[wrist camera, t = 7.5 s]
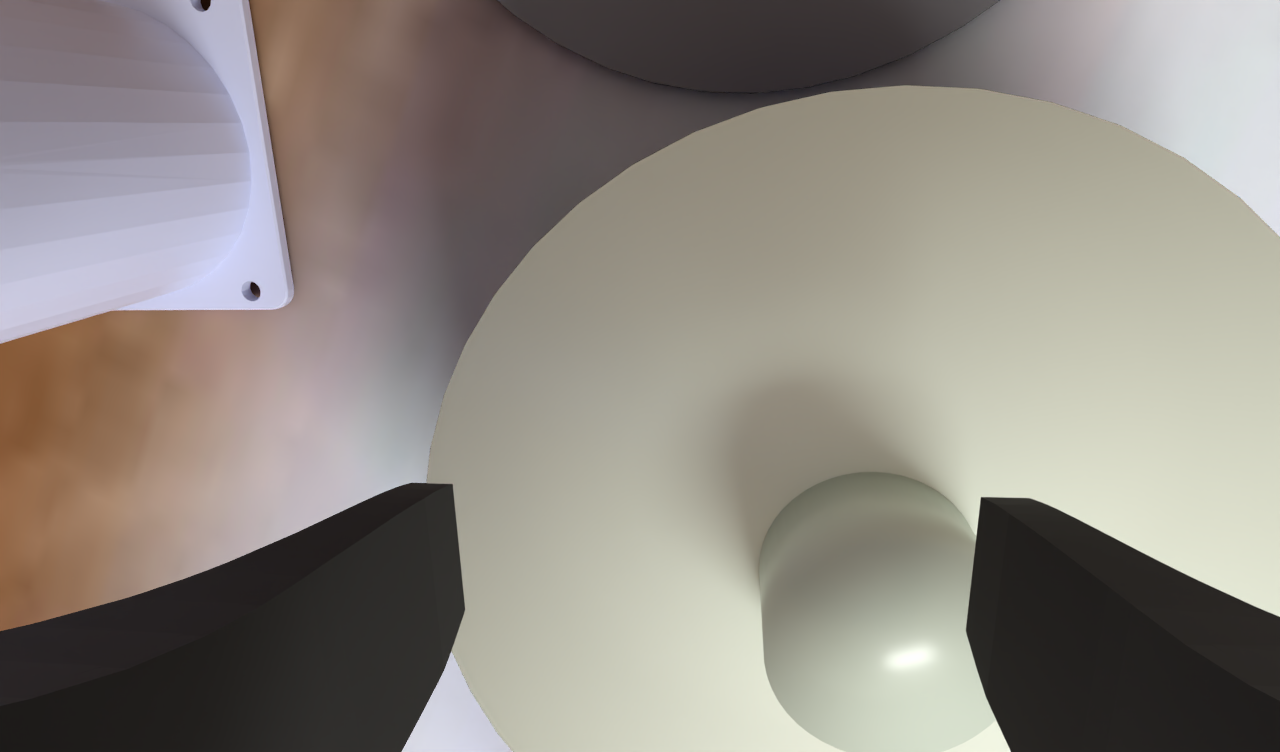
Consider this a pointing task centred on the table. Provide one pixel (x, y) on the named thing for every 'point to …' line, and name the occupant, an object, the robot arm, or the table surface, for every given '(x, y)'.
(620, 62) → the mat
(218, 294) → the robot arm
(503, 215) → the table surface
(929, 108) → the lid
